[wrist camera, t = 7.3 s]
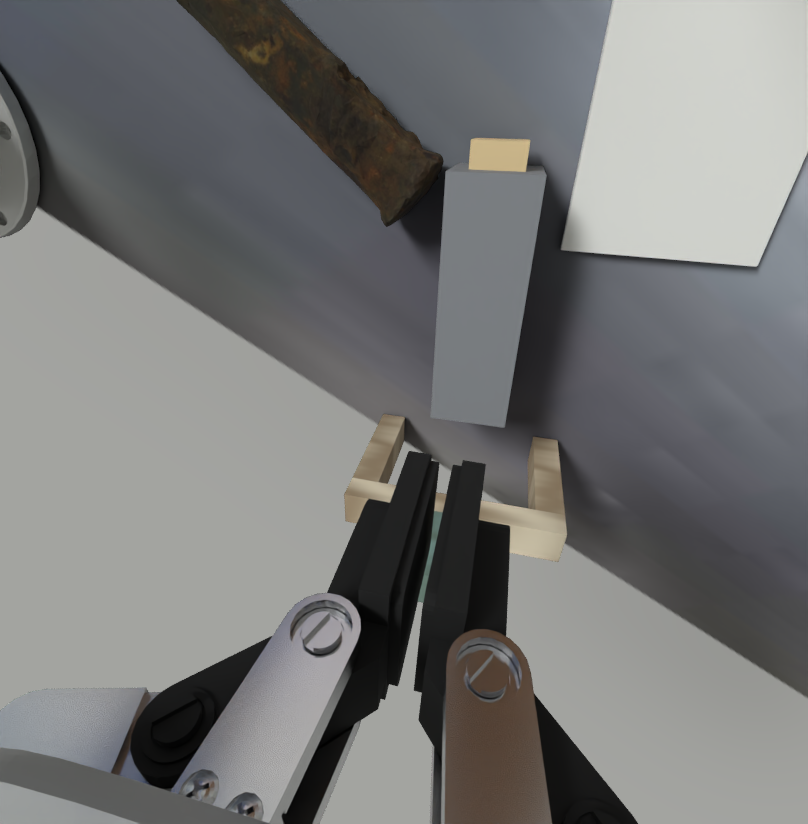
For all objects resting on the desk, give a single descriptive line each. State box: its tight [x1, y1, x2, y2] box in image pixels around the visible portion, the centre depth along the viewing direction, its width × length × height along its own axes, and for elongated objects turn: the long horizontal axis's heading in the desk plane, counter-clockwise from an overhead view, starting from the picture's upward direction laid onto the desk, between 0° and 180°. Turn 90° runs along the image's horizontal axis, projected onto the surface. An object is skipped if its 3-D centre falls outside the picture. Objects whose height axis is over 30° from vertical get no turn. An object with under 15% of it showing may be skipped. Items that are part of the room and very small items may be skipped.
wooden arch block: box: [344, 414, 567, 602], centre depth 26 cm, size 12×2×12 cm, turn 88°
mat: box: [561, 0, 808, 267], centre depth 18 cm, size 9×16×1 cm, turn 178°
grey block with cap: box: [431, 138, 547, 428], centre depth 23 cm, size 4×13×5 cm, turn 179°
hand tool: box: [177, 0, 443, 227], centre depth 20 cm, size 19×4×5 cm, turn 46°
